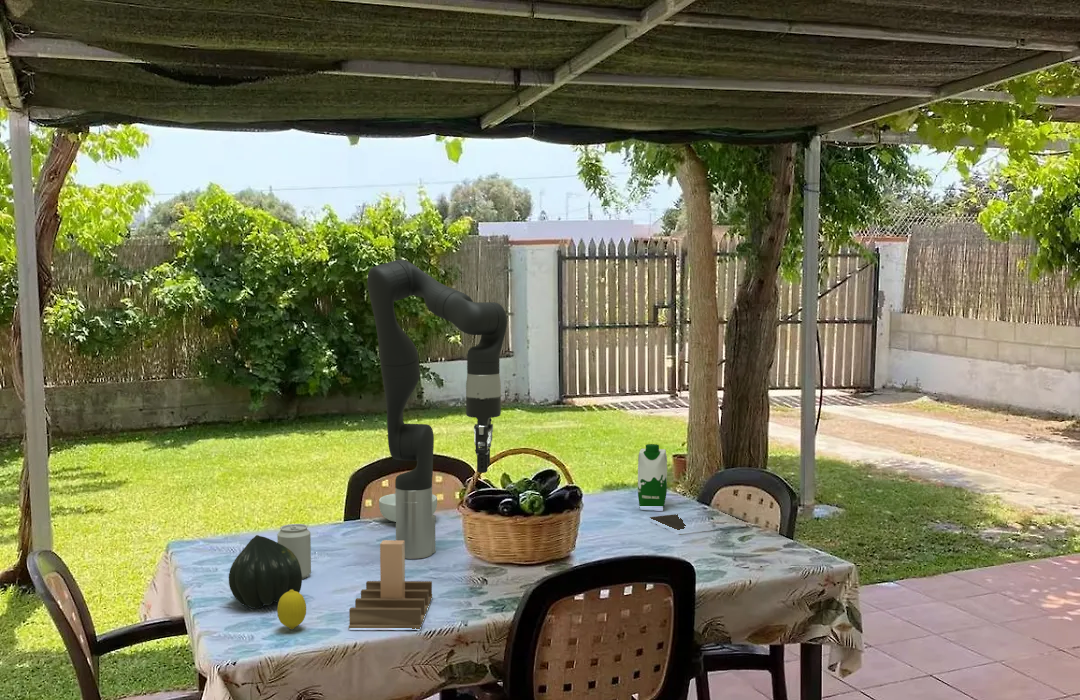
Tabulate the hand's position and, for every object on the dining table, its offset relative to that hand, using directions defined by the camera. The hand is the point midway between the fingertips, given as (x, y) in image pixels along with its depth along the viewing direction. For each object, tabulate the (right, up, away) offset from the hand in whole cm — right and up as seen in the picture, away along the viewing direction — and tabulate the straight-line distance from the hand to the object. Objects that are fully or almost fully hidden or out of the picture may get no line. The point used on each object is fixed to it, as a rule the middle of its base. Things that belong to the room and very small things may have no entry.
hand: (483, 468), depth 209 cm
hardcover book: (+58, -25, +65) cm, 91 cm away
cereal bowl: (-26, -24, +68) cm, 77 cm away
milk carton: (+47, -23, +85) cm, 100 cm away
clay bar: (-18, -28, -10) cm, 35 cm away
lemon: (-37, -30, -19) cm, 51 cm away
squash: (-46, -29, -3) cm, 55 cm away
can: (-45, -27, +15) cm, 55 cm away
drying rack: (-18, -29, -10) cm, 36 cm away
